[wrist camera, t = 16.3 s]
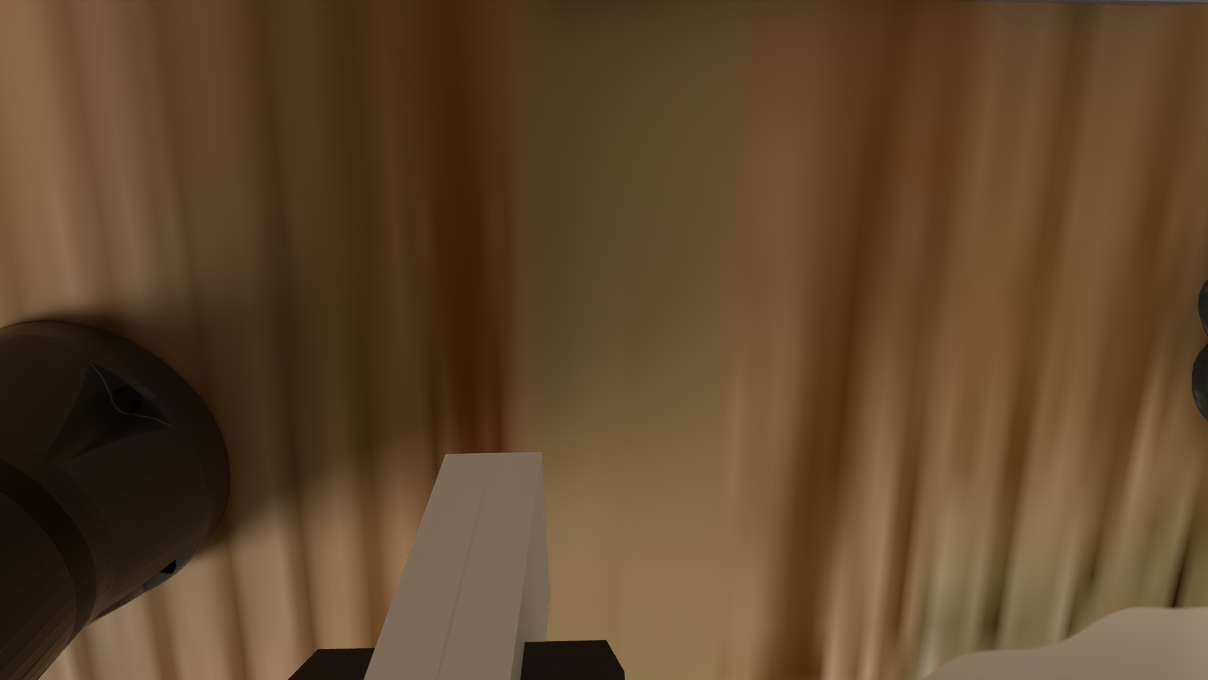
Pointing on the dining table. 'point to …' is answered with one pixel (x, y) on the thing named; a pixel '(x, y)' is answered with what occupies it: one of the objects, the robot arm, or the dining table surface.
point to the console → (1118, 1)
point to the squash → (1202, 359)
